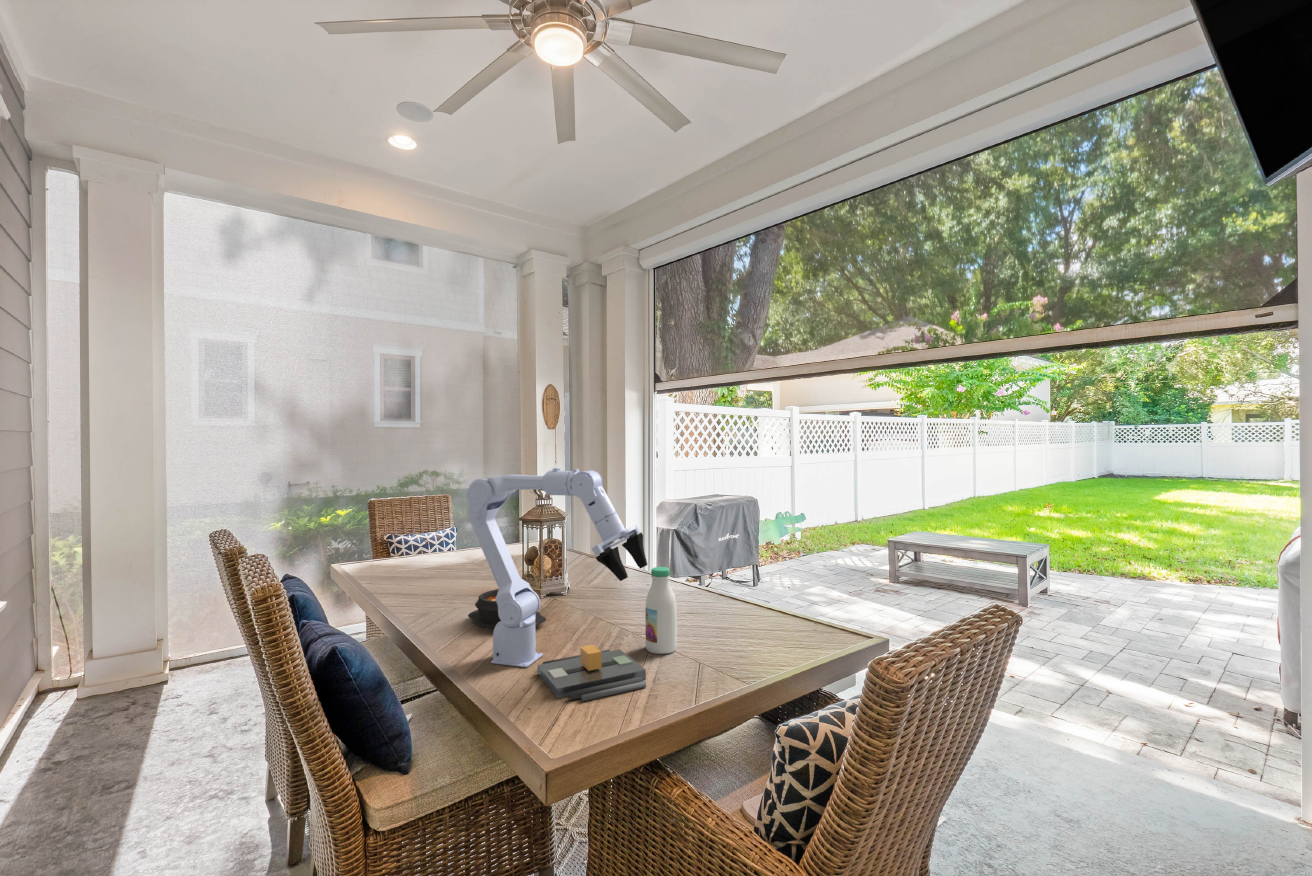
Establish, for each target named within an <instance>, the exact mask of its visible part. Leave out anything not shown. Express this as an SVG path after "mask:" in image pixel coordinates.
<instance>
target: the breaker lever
mask: <svg viewBox="0 0 1312 876" xmlns="http://www.w3.org/2000/svg"><path fill="white" fill-rule="evenodd" d="M579 649H580V650H579V651H580V653H579V655H580V659H581V664H582V665H583V666H584V667H585V668H586V669H587V670H588V671H590V670H595V669H600V668H602V665H601V651H602V650H600V649H599V648H597V646H595V644H588V645H584V646H580V648H579Z"/></svg>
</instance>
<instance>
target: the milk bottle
mask: <svg viewBox="0 0 1312 876" xmlns="http://www.w3.org/2000/svg"><path fill="white" fill-rule="evenodd" d="M650 570H651V571H650V573H651V575H650V576H651V580H652V581H651V584H650V588H649V590H648V592H647V595H646V599H645V610H644V611H645V616H644V617H645V623H644V624H645V648H646V650H647V652H649V653H651V654H655V655H665V654H666V655H667V654H672V653H674V652H675V651H676V650H677V647H678V626H677V625H678V623H677V622H678V621H677V615H678V614H677V600H676V596H675V593H674V591H673V588H672V585H671V583H670V578H671V576H670V575H671V571H670V568H669V567H667V566H654V567H652V568H651V569H650Z"/></svg>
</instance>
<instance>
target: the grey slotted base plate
mask: <svg viewBox="0 0 1312 876" xmlns="http://www.w3.org/2000/svg"><path fill="white" fill-rule="evenodd" d="M600 651H601V653H603V652H608V651H610V649H605V650H600ZM577 657H580V654H578V655H572V656H567V657H563V658H562V657H561V658H557V659H552V660H547V661H543V662H542V664H546V663H551V662H556V661H561V660H566V659H572V658H577ZM646 687H647V683H646V681H645V680H644V679H643V678H642V677H636V678H632V679H627V680H622V681H618V682H613V683H609V684H604V685H600V686H595V687H591V688H586V689H581V690H577V691H572V692H569V693H568V696H567V697H568V700H569V701H570V702H571V701H576V700H579V699H580V701H581V702H582V703H583V702H587V701H591V700H595V699H601V698H604V697H608V696H613V695H618V694H621V693H626V692H630V691H634V690H639V689H644V688H646Z"/></svg>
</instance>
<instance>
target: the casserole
mask: <svg viewBox="0 0 1312 876" xmlns="http://www.w3.org/2000/svg"><path fill="white" fill-rule="evenodd" d="M498 590H499V588H497V589H492V590H488V591H485V592H483V593H481V594H480V595H478V598H477V601H476V602H475V603H474V605H475V607H476V608H477V609H475V610H473V611H471V612H469V613H468V614H467V617H468V618H469V619H471V621H472V623H473V624H474V625H475V626H478V627H481V628H485V629H490V630H494V629H495V626H496V625H497V623H498V622H500V621H501V620H500V618H499V615H498V605H497V602H496V596H497V593H498ZM546 621H547V617H545V616H543V615H542V614H541V613H540V612H539V611H538V612H537V613H536V618H535V627H536V626H539V625H541V624H543V623H545V622H546Z"/></svg>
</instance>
